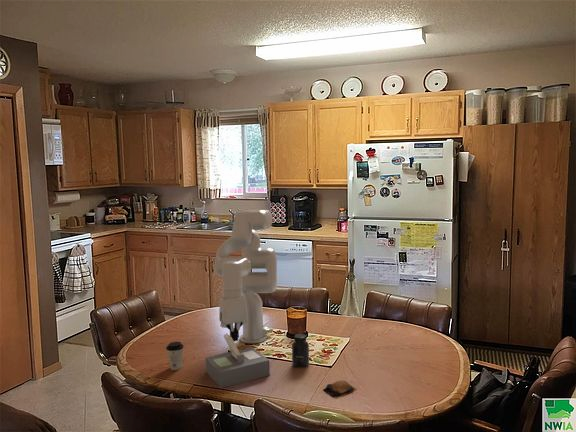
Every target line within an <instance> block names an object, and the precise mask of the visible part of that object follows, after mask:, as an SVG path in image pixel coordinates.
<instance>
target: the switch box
mask: <svg viewBox="0 0 576 432" xmlns="http://www.w3.org/2000/svg"><path fill="white" fill-rule="evenodd" d="M238 351H239V353H240V354H238V355H237V359H236V358H235V357H234V356H232V354H231V353H232V352H231V350H230V349H229V351H228V352H225V353H221V354H217V355H216V354H215V355H212V356H207V357H205V369H206V371H205V372H206V374H207V375H208V376H209V377H210V378H211V379H212V380H213V382H215V383H216V384H217V385H218V387H219V388H220V389H222V388H227V387H230V386H234V385H237V384H241V383H245V382H248V381H252V380H256V379H260V378H263V377H268V376H271V371H270V370H271V369H270V368H271V367H270V359H268V358H267V357H266V356H264V355H263V354H262V353H260V352H259V351H258V350H257V349H255V348H254V347H252V346H250V347H246V348H241V349H238Z"/></svg>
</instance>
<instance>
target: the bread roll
mask: <svg viewBox="0 0 576 432" xmlns="http://www.w3.org/2000/svg"><path fill="white" fill-rule="evenodd" d="M322 391H323V392H324V393H326V394H327V395H328V396H329V397H332V398H339V397H342V396H344V395H345V396H346V395H347V394H350V393H353V392H354V391H357V388H356V387H354V386H352V385H351V384H350V383H349V382H348V381H346V380H343V379H341V380H337V381H335V382H332V383H329V384H327V385H326V387H325V388H323V389H322Z"/></svg>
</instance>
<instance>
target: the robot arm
mask: <svg viewBox="0 0 576 432" xmlns="http://www.w3.org/2000/svg"><path fill="white" fill-rule="evenodd" d="M233 218H234V219H233V220H234V221H233V225H232V229H231V235H230V237H228V238H227V239H226V240H224V242H223V243H221V245H220V246H219V247H218V248H217V250H216V254H215V259H214V264H213V270H214V273H215V274H216V275H217V276H219V277H221V283H222V297H220V301H219V310H218V314H219V315H218V317H219V318H218V319H219V322H220V327H221V328H223V329H224V328H225V329H228V330H229V335H230V336H231V337H232V339H233V341H234V342H238V341H241V342H242V343H244V344H259V343H262V342H264V341H266V340H267V339H268V335H267V334H268V333H273V331H274V328H273V327H269V328H268V327H264V313H263V310H264V309H263V300H262V298H261V297H260V296H259V294H263V293H264V294H266V293H267V294H269V293H274V292H276V290H277V287H278V285H277V284H278V275H277V274H278V271H277V270H278V268H277V266H278V265H277V262H278V261H277V254H276V251H275V250H274V249H273V248H270V247H261V237H260V234H259V233H258V232H257V231H258V230H259V231H261V230H268V229H270V228H271V226H272V224H273V214H272V212H271V211H270V210H268V209H249V210H247V209H245V210H239V211H236V212H235V214H234V217H233ZM256 230H257V231H256ZM239 250H241V256H237V257H236V256H230V257H229V255H231V254H232V253H235V252H238V251H239ZM251 270H266V271H251ZM241 327H242V334H239V333H240V332H239V331H240V329H241Z"/></svg>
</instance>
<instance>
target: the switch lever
mask: <svg viewBox="0 0 576 432" xmlns="http://www.w3.org/2000/svg"><path fill="white" fill-rule="evenodd" d="M222 337H223V338H224V340H225V342H226V343H227V346H228V348H229V351H230V350H231V352H232V353H231V354H232V356H234V357H235V358H236V359H237V355H238V354H240V353H239V351H238V350H239V349H238V347H237V345H236V343H235V341H233V339H232V337H231V336H230V334H228V333H225V334H223V336H222Z"/></svg>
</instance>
